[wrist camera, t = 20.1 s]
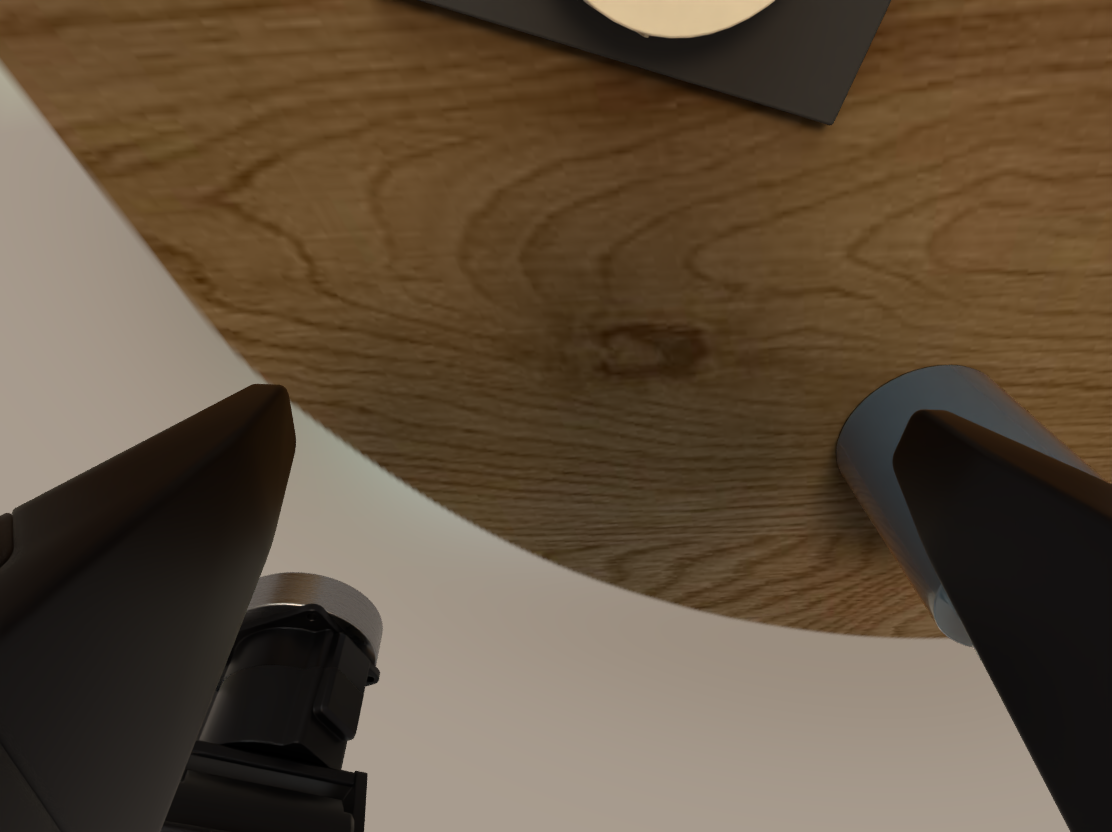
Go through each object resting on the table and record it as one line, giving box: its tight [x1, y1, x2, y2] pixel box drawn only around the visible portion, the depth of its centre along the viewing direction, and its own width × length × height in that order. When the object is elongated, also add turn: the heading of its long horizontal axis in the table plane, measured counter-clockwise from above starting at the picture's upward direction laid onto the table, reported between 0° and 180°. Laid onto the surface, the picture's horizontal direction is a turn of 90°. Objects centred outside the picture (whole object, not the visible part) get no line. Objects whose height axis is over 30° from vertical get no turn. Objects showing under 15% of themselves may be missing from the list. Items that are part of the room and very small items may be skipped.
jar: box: [836, 365, 1107, 660], centre depth 21 cm, size 6×6×9 cm
